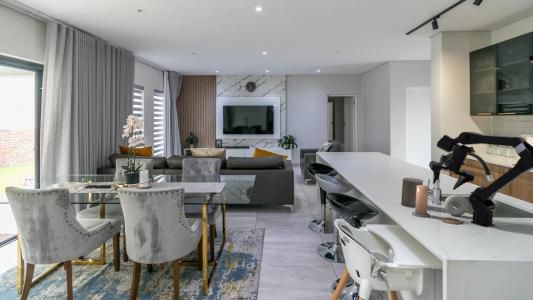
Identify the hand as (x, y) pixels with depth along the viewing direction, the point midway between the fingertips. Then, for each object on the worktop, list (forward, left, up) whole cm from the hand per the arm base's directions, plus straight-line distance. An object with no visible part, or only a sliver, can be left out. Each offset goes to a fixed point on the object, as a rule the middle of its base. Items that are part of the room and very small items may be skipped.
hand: (443, 186), depth 154 cm
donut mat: (-11, +6, -13) cm, 18 cm away
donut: (-5, -4, -13) cm, 15 cm away
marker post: (+1, +11, -12) cm, 17 cm away
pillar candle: (+16, +2, -13) cm, 21 cm away
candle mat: (+1, +11, -13) cm, 17 cm away
